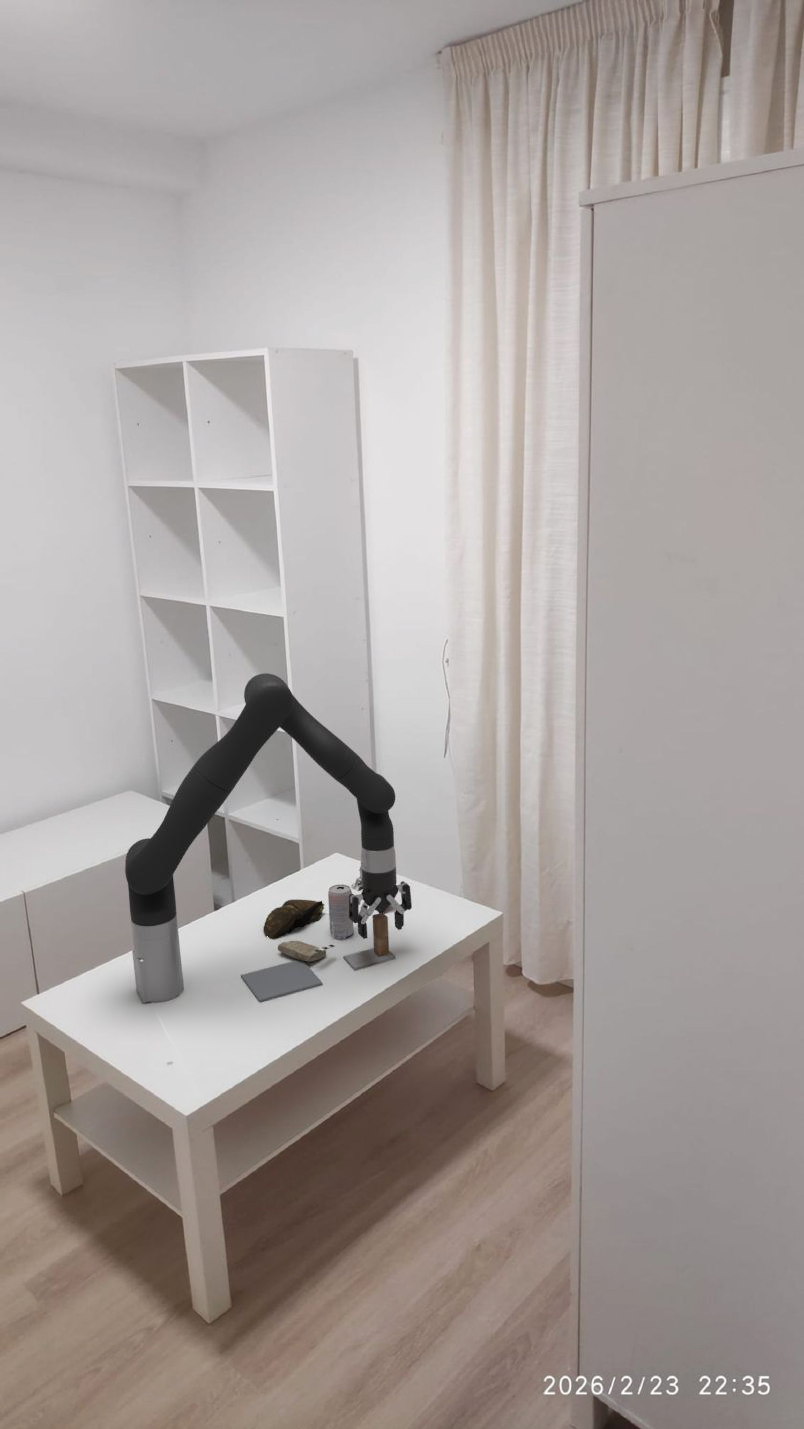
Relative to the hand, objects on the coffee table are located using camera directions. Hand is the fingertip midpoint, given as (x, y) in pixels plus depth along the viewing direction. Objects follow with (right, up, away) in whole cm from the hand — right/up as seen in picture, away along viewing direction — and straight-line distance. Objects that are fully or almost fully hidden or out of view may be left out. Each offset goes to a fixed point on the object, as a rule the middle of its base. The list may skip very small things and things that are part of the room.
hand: (381, 932), depth 229 cm
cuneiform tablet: (-12, -5, -3) cm, 13 cm away
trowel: (-3, -6, 0) cm, 7 cm away
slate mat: (-21, -9, -8) cm, 24 cm away
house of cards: (-4, +2, +33) cm, 33 cm away
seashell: (-21, -3, +16) cm, 27 cm away
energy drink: (-9, -3, +11) cm, 15 cm away
